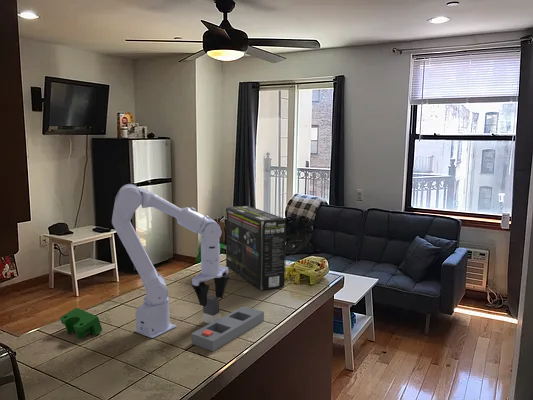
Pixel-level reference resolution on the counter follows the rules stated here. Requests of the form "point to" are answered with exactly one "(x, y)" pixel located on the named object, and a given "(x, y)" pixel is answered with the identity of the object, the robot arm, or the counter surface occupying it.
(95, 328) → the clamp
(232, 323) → the power strip
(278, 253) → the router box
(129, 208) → the robot arm
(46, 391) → the counter surface
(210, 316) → the plug
